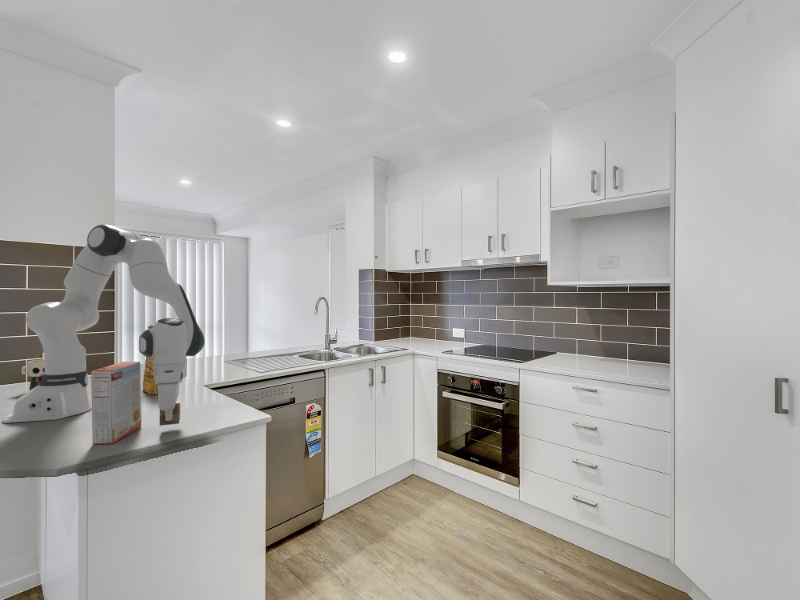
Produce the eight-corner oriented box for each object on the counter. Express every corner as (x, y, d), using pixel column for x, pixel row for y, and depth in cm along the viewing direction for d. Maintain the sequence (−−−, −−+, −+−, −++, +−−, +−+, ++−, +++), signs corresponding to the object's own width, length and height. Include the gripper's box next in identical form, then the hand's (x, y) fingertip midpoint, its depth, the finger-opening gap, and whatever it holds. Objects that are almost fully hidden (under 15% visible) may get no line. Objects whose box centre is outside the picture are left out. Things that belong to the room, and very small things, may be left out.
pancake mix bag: (156, 386, 176) (156, 324, 175) (169, 393, 163) (169, 327, 162) (139, 388, 171) (138, 325, 171) (151, 396, 158) (151, 328, 157)
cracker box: (122, 427, 121) (121, 361, 121) (142, 427, 122) (142, 361, 121) (90, 445, 107) (89, 369, 107) (113, 444, 108) (112, 369, 107)
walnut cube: (159, 425, 115) (159, 409, 115) (161, 420, 120) (161, 404, 120) (178, 423, 117) (178, 407, 117) (180, 418, 122) (180, 402, 122)
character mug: (23, 394, 160) (23, 363, 159) (20, 392, 164) (19, 361, 164) (58, 389, 168) (58, 359, 168) (53, 387, 173) (53, 358, 172)
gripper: (162, 366, 126) (162, 408, 126) (154, 379, 108) (153, 428, 108) (184, 365, 129) (184, 406, 129) (180, 377, 111) (179, 425, 111)
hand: (170, 416), depth 119 cm, fingers closed on walnut cube, 5 cm apart
